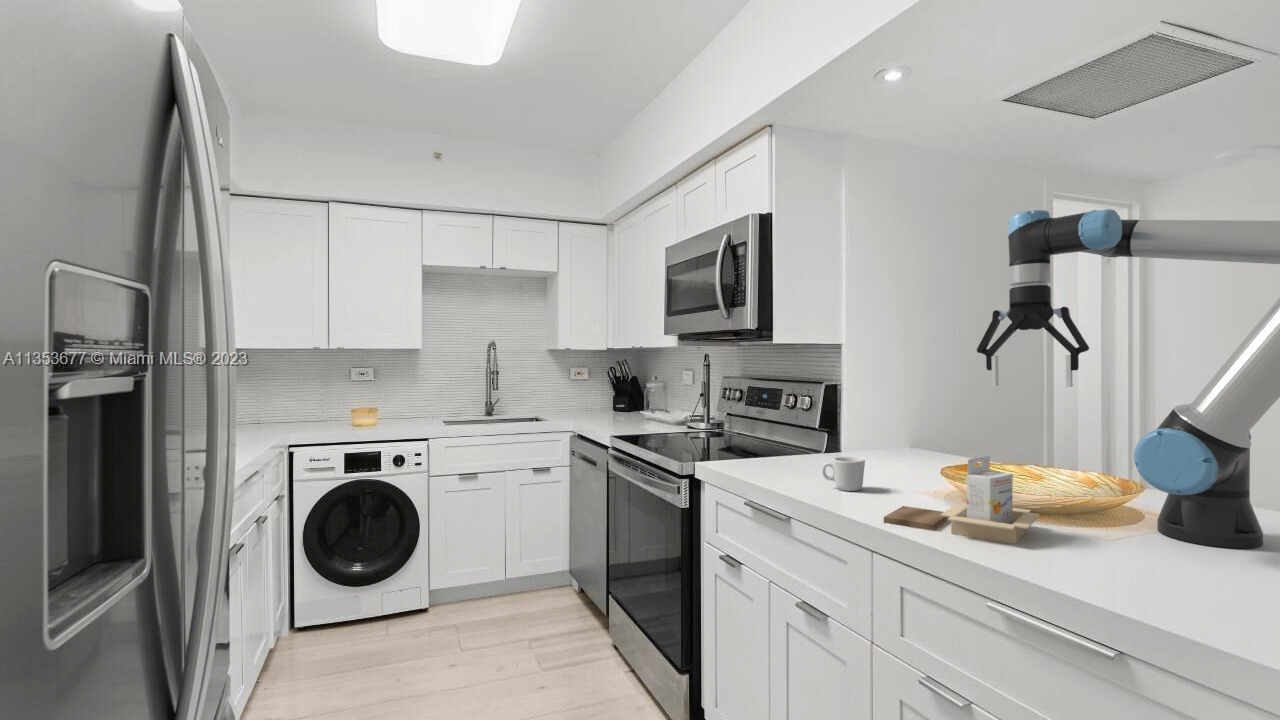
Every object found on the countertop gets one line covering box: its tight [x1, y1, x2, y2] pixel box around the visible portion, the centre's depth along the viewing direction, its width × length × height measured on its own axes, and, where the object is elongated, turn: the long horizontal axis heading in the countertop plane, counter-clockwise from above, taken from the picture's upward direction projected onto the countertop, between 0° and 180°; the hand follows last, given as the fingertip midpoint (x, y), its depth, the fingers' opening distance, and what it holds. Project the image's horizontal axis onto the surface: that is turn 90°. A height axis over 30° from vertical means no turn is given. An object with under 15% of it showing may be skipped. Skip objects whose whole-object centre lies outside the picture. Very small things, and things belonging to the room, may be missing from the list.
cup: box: [821, 456, 866, 492], centre depth 169 cm, size 11×8×8 cm
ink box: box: [966, 454, 1014, 524], centre depth 129 cm, size 8×5×15 cm, turn 123°
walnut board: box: [883, 505, 949, 531], centre depth 138 cm, size 10×12×1 cm
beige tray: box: [941, 502, 1041, 545], centre depth 129 cm, size 15×17×4 cm
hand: (1031, 386), depth 136 cm, fingers open, 13 cm apart
